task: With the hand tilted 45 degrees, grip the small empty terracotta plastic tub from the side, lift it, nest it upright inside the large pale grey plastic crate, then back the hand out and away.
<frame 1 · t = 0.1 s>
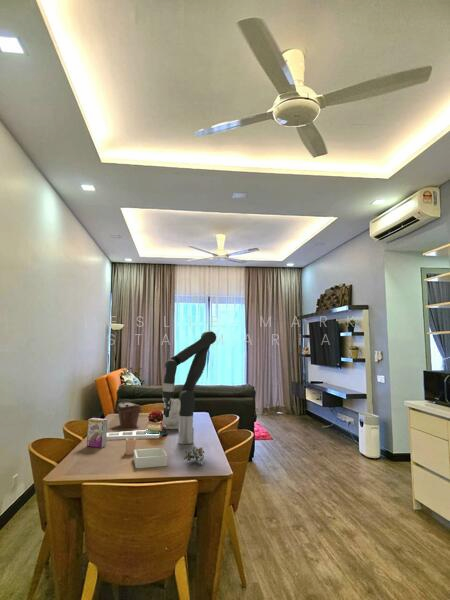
hand: (165, 416, 236), 17 cm above the table, tool pointing down, fingers open, 8 cm apart
candy bar box: (96, 446, 226), on the table
crate: (149, 462, 196), on the table
tub: (130, 453, 212), on the table
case: (128, 425, 288), on the table
holder: (125, 437, 253), on the table
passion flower: (193, 464, 194), on the table
ceramic pitcher: (174, 427, 283), on the table
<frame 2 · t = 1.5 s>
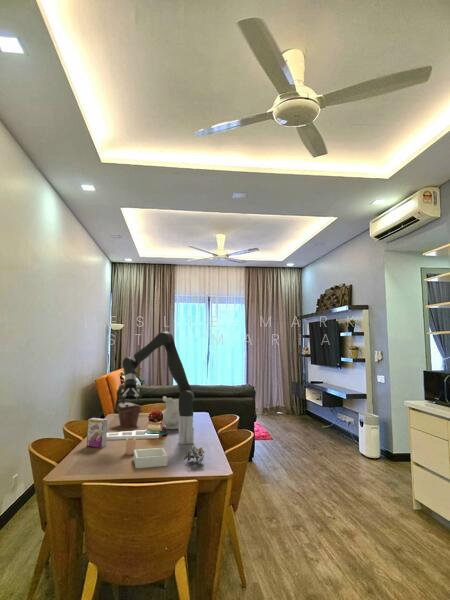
hand: (130, 402, 230), 27 cm above the table, tool tilted 45°, fingers open, 8 cm apart
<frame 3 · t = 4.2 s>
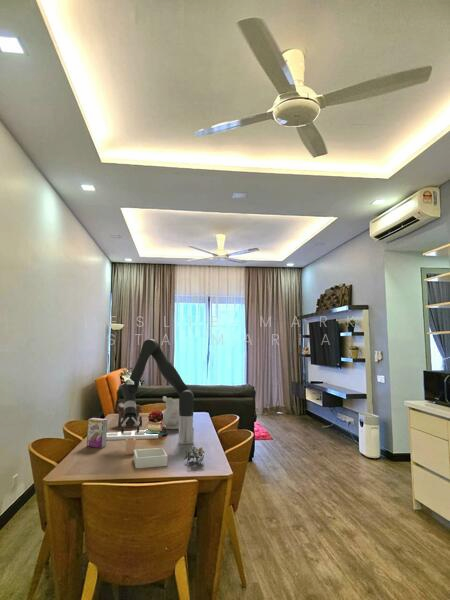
hand: (130, 432, 219), 10 cm above the table, tool tilted 45°, fingers open, 8 cm apart
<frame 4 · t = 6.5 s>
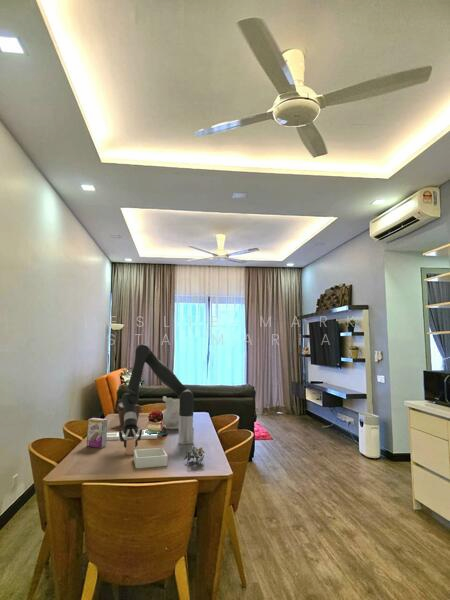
hand: (130, 446, 211), 4 cm above the table, tool tilted 45°, fingers closed on tub, 5 cm apart
tub: (130, 453, 212), on the table, touching gripper
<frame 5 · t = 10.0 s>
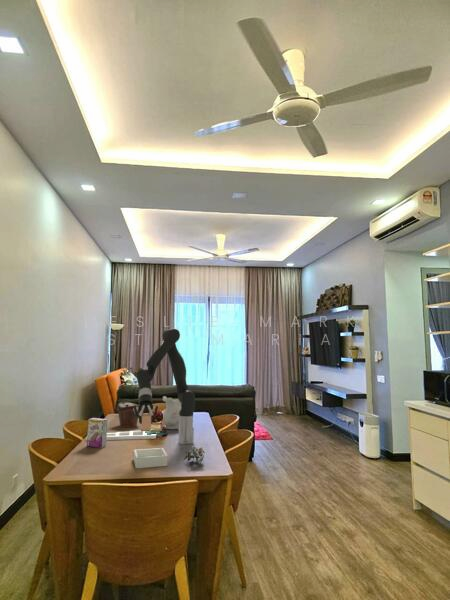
hand: (146, 423, 201), 20 cm above the table, tool tilted 45°, fingers closed on tub, 5 cm apart
tub: (145, 430, 202), point 16 cm above the table, touching gripper
when the fingers open (7 cm above the table, at t = 13.5 s): tub drops 1 cm, resting on crate.
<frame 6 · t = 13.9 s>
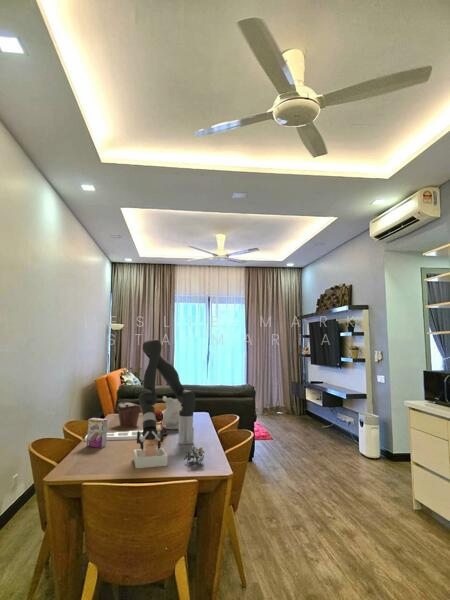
hand: (150, 449, 196), 7 cm above the table, tool tilted 45°, fingers open, 8 cm apart
tub: (150, 460, 196), point 1 cm above the table, touching crate
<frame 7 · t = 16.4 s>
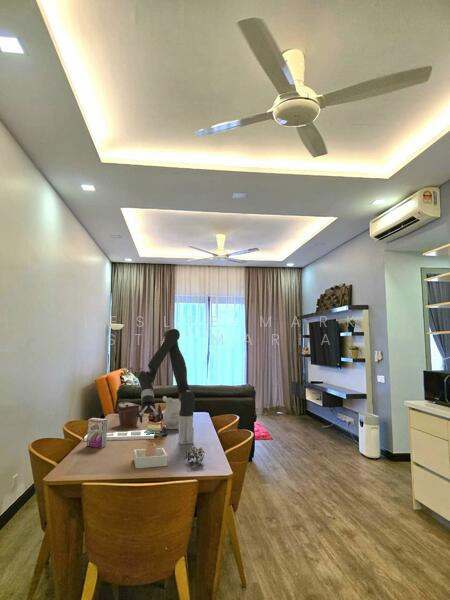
hand: (149, 421, 209), 19 cm above the table, tool tilted 45°, fingers open, 8 cm apart
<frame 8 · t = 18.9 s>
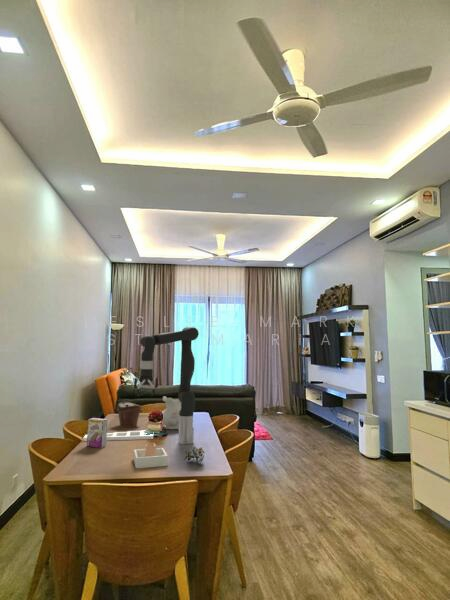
hand: (145, 395, 224), 32 cm above the table, tool pointing down, fingers open, 8 cm apart
at the end: tub inside the target area on the crate (0.0 cm from its centre), point 1.0 cm above the crate's base; tub tilted 0°; the gripper is holding nothing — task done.
